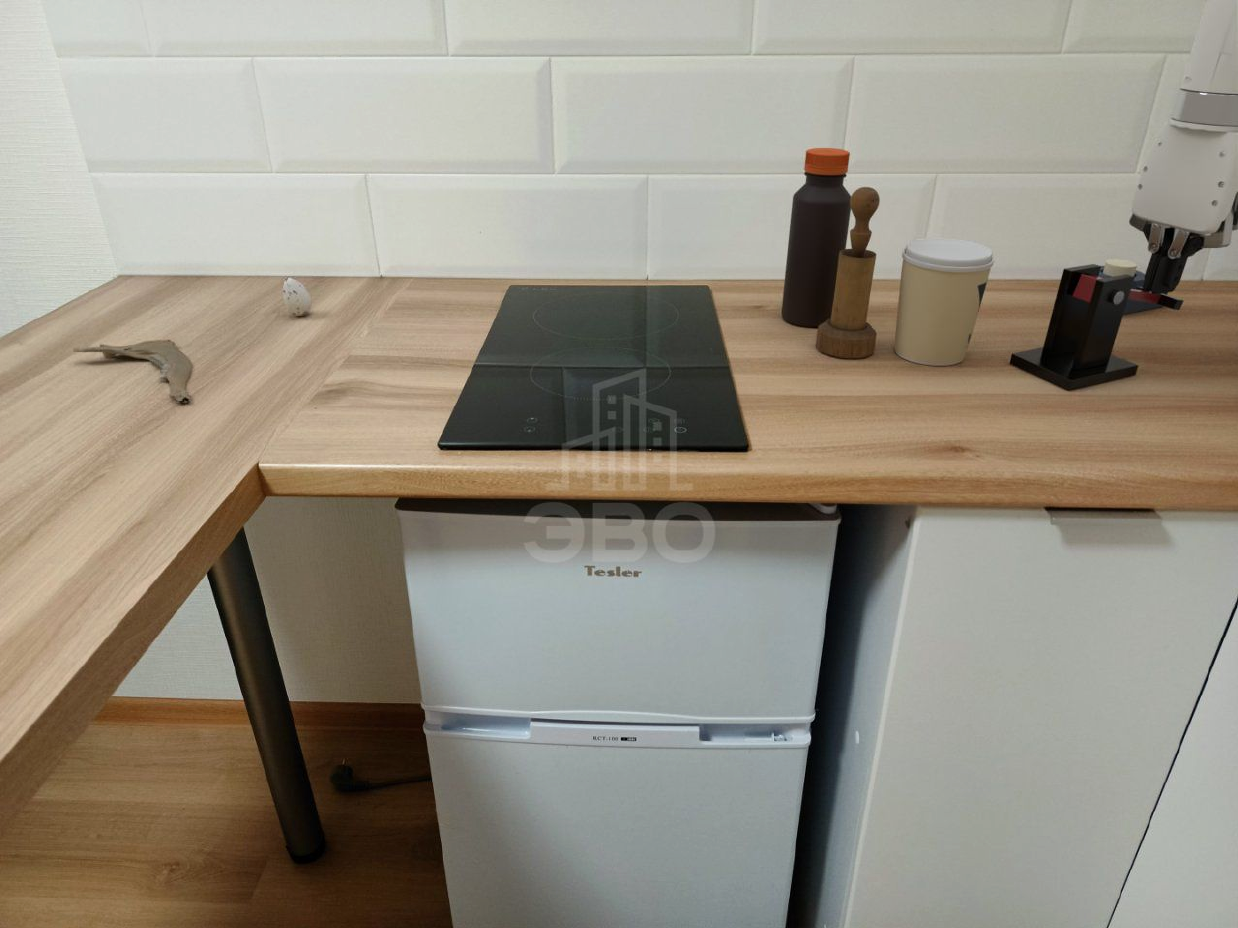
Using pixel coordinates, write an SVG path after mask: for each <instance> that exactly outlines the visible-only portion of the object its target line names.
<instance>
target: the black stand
mask: <svg viewBox="0 0 1238 928" xmlns="http://www.w3.org/2000/svg"><path fill="white" fill-rule="evenodd" d="M1101 266H1102V265H1099V264H1095V263H1092V264H1084V265H1078V266H1071V267H1065V268H1063V269H1062V273H1061V278H1060V282H1059V284H1058V289H1057V293H1056V296H1055V299H1054V303H1053V309H1052V312H1051V316H1050V320H1049V323H1048V327H1047V331H1046V334H1045V339H1044V343H1043V346H1042V347H1037V348H1033V349H1028V350H1022V351H1017V352H1012V353H1011V355H1010V359H1009V365H1012V366H1014V367H1015V368H1019V369H1020V370H1023V371H1025V372H1027V373H1029V374H1031V375H1033V376H1035V377H1038V378H1039V379H1041V380H1044V381H1047V382H1048V383H1050V384H1052V385H1055V386H1057V387H1059V388H1061V389H1064V390H1065V391H1068V392H1069V391H1074V390H1079V389H1083V388H1086V387H1091V386H1095V385H1100V384H1103V383H1109V382H1112V381H1116V380H1121V379H1126V378H1131V377H1135V376H1136V375H1137V372H1138V369H1139V364H1137V363H1136V362H1132V361H1130V360H1127V359H1124V358H1122V357H1120V356H1117V355H1115V354H1112V353H1113V349H1114V347H1115V343H1116V340H1117V337H1118V334H1119V330H1120V327H1121V323H1122V320H1123V317H1124V315H1125V314H1124V310H1125V307H1126V304H1127V301H1128V297H1129V294H1130V291H1131V287H1132V284H1133V281H1134V276H1130V275H1127V274H1126V275H1120V276H1114V277H1109V278H1103V279H1097V280H1096V283H1095V286H1094V290H1093V293H1092V297H1091V300H1090V303H1089V302H1086V301H1083V300H1081V299H1078V298H1075V297H1073V293H1074V291H1075V289H1076V286H1077V284H1078V282H1079V279H1080V277H1081V275H1082V274H1084V275H1091V276H1097V277H1098V276H1099V272H1100V269H1101ZM1123 314H1124V315H1123Z"/></svg>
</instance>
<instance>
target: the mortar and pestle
mask: <svg viewBox="0 0 1238 928" xmlns="http://www.w3.org/2000/svg"><path fill="white" fill-rule="evenodd" d="M880 200H881V199H880V194H879V193H878V191H877V190H876V189H875V188H873V187H870V186H862V187H858V188H857V189H855V191H854V192H853V193H852V194H851V199H850V207H851V212H852V215H853V217H854V219H855V222H854V226H853V228H851V229H850V230H849V238H850V245H851V248H846V249H844V250H841V251H840V253H839V261H838V270H837V278H836V285H835V293H834V300H833V307H832V314H831V318H830V319H828V320H826V321H825V322H824V323H822V324H820V325H819V327H817V331H816V338H815V347H816V349H817V350H818V351H819V352H821V353H823V354H825V355H828V356H833V357H836V358H841V359H863V358H867V357H870V356H871V355H873V354H874V352H875V349H876V342H877V341H876V340H877V331H876V329H875V328H873V327H872V325H871V324H870V323H869V322H867V320H868V313H869V305H870V298H871V292H872V285H873V279H874V272H875V267H876V260H877V253H876V252H875V251H872V250H869V249H867V248H868V245H869V243H870V240H871V237H872V235H873V231H872V230H871V229H870V221H871V219H872V217H873V216H874V215H875V213H876V211H877V210H878V208H879V206H880V202H881V201H880Z"/></svg>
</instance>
